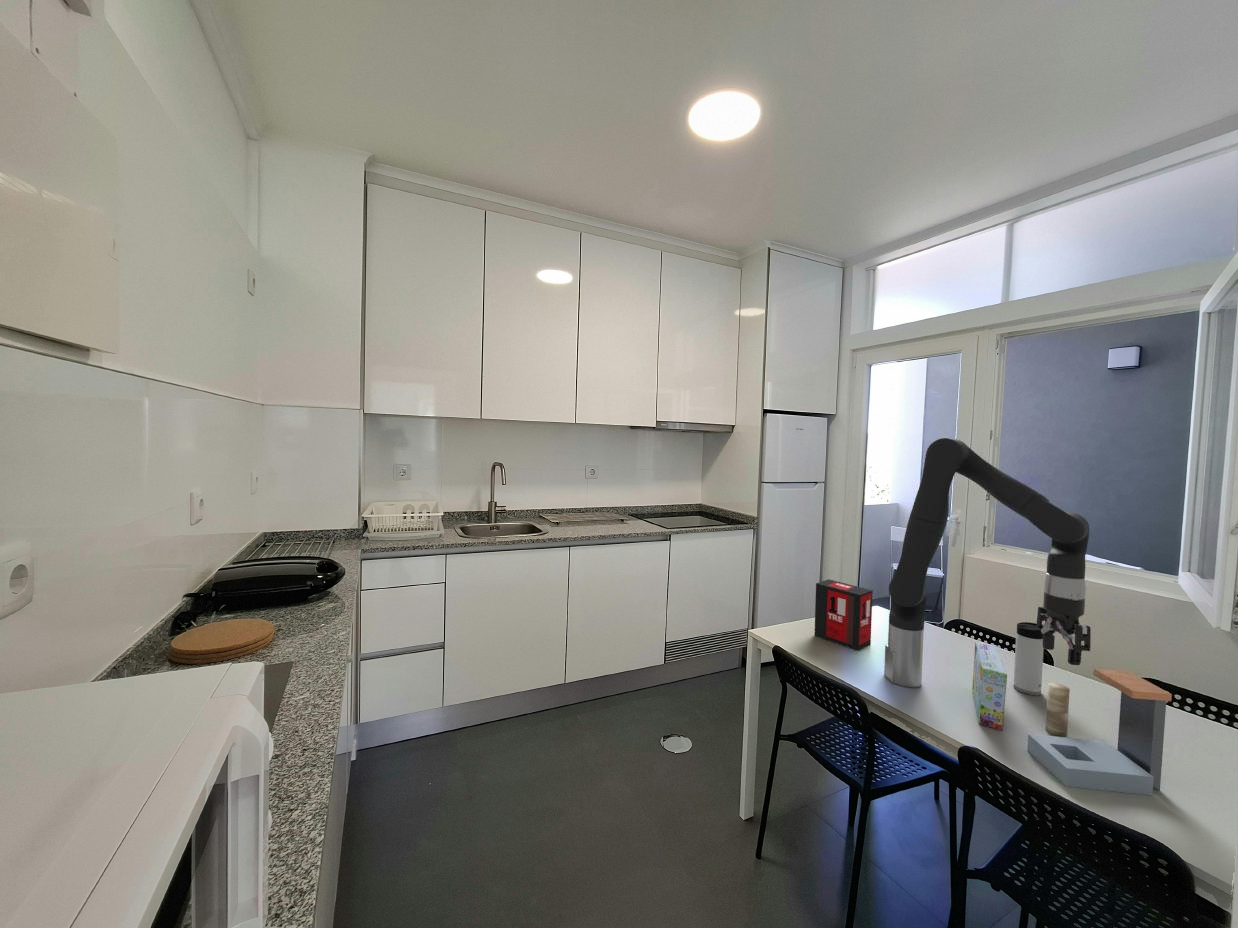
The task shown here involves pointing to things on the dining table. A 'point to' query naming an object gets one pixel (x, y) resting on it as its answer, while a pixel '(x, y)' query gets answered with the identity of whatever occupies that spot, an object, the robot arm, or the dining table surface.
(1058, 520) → the robot arm
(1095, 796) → the dining table surface
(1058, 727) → the peg
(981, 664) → the snack box
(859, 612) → the cleaning product box
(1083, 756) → the socket block
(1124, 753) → the orange-capped grey pillar
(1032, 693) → the travel mug
